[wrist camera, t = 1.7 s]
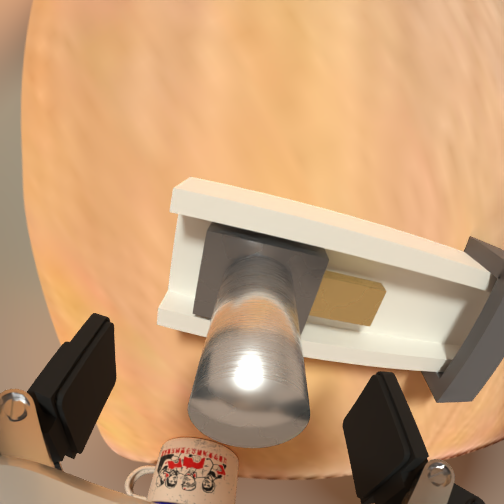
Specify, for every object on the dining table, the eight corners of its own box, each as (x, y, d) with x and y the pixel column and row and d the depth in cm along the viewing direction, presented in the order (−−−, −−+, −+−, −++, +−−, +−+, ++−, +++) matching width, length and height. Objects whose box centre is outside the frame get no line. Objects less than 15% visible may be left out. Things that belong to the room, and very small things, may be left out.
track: (508, 252, 18) (551, 283, 13) (453, 358, 22) (479, 400, 17) (194, 156, 17) (164, 168, 12) (170, 309, 21) (145, 361, 16)
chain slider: (385, 260, 17) (472, 382, 8) (356, 327, 19) (402, 461, 9) (213, 218, 16) (150, 334, 7) (199, 295, 18) (149, 435, 9)
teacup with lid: (237, 436, 26) (226, 542, 16) (244, 474, 30) (237, 558, 19) (125, 425, 27) (91, 514, 16) (149, 465, 31) (128, 540, 20)
